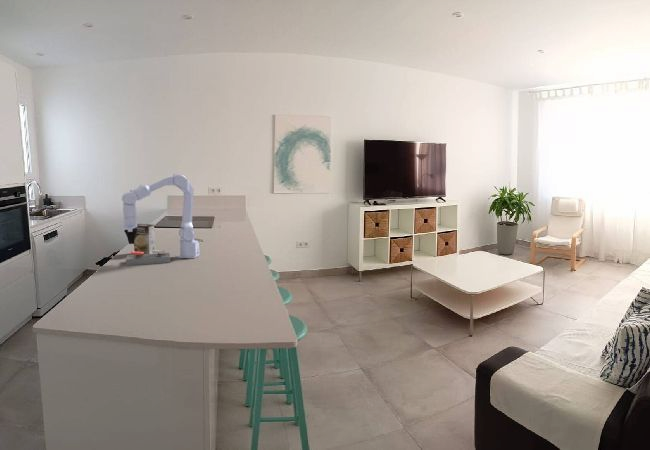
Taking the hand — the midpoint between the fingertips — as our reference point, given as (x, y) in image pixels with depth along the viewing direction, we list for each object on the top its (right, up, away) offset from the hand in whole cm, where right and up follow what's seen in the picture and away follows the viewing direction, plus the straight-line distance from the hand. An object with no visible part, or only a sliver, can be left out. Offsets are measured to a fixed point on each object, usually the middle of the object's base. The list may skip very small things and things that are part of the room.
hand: (131, 243), depth 200 cm
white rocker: (+11, -4, +6) cm, 13 cm away
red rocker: (+2, -5, +2) cm, 6 cm away
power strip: (+7, -9, +3) cm, 12 cm away
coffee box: (-2, -7, +20) cm, 21 cm away
